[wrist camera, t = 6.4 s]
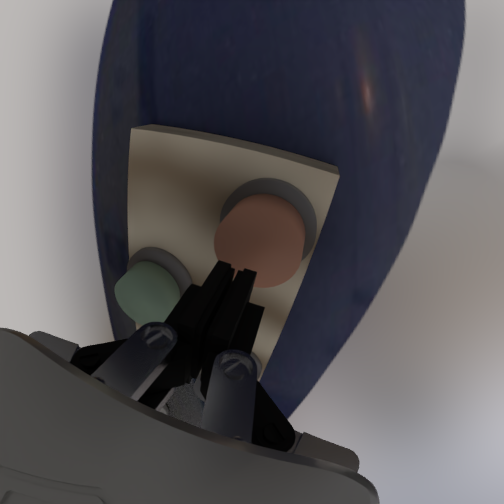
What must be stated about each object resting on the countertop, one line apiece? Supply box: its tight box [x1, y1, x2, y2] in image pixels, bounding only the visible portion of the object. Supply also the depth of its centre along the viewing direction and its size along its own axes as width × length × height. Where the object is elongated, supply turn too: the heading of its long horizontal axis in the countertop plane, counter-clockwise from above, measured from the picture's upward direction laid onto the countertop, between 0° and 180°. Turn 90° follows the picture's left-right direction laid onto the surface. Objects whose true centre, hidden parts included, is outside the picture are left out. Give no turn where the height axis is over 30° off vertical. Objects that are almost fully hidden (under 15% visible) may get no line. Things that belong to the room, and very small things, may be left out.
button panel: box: [127, 124, 340, 382], centre depth 21 cm, size 22×13×3 cm, turn 168°
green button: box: [115, 261, 180, 325], centre depth 19 cm, size 4×4×2 cm
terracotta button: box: [214, 194, 305, 288], centre depth 14 cm, size 4×4×2 cm
